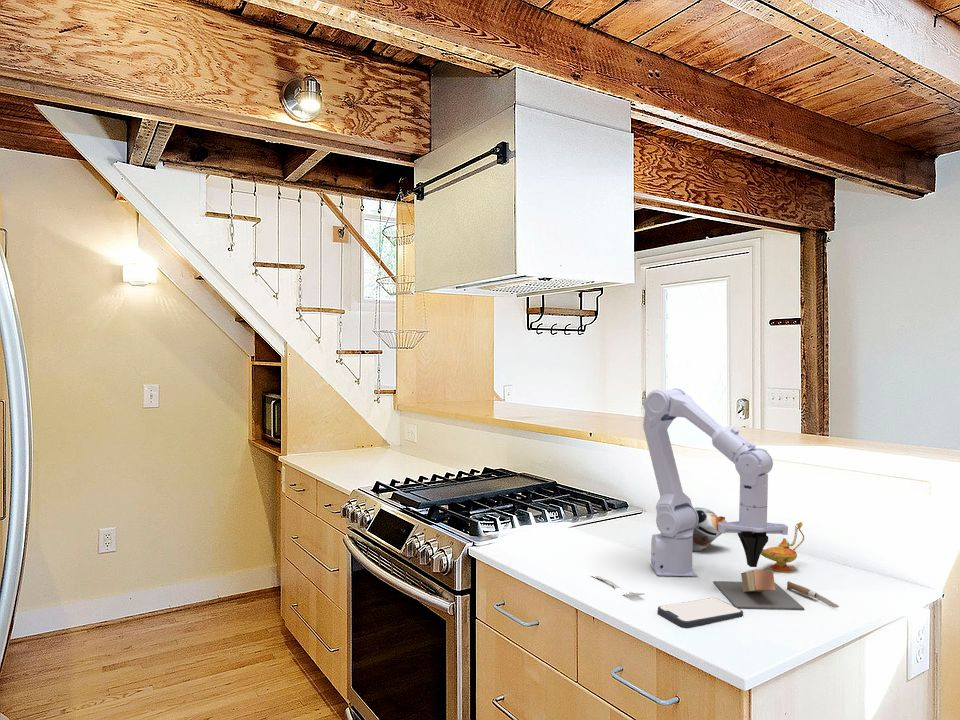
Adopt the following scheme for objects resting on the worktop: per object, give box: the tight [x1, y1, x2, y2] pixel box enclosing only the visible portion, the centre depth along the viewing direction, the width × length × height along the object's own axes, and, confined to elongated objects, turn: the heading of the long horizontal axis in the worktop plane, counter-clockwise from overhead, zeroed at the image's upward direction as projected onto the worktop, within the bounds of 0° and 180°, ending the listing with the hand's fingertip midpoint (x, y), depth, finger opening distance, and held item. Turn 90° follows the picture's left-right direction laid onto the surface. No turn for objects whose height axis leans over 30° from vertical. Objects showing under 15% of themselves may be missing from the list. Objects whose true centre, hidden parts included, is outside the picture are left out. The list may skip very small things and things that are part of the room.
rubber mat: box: [712, 580, 805, 611], centre depth 146 cm, size 14×15×1 cm
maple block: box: [740, 569, 776, 592], centre depth 145 cm, size 4×4×8 cm
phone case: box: [657, 597, 744, 629], centre depth 136 cm, size 9×2×16 cm
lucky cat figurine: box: [692, 506, 727, 553], centre depth 181 cm, size 15×12×14 cm
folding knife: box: [786, 580, 840, 609], centre depth 145 cm, size 14×2×2 cm, turn 22°
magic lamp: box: [760, 521, 805, 573], centre depth 164 cm, size 7×18×11 cm, turn 112°
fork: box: [595, 575, 645, 597], centre depth 154 cm, size 3×24×2 cm, turn 27°
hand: (751, 565), depth 148 cm, fingers closed
